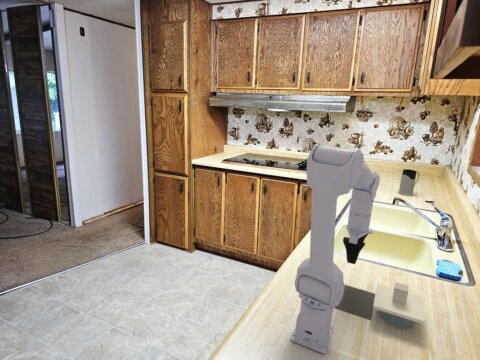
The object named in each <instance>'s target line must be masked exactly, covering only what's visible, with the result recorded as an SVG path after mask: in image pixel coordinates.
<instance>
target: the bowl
mask: <svg viewBox="0 0 480 360" xmlns="http://www.w3.org/2000/svg"><path fill="white" fill-rule="evenodd" d="M379 316H380V317H381V319H383V320H384V321H385V323H387V324H388V325H391V326H394V327H396V328H399V329H401V330H402V329H409V328H413V326H414V323H415V321H412V320H408V319H405V318H402V317H399V316H396V315H393V314H389V313H386V312H383V311H380V314H379Z"/></svg>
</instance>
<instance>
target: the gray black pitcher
mask: <svg viewBox="0 0 480 360" xmlns="http://www.w3.org/2000/svg"><path fill="white" fill-rule="evenodd" d="M400 177H401V178H400V183H399V188H398V189H399V190H398V191H397V194H398V195H401V196H406V197H414V189H415V186H416V184H417V183H418V181H419V179H420V172H419V171H417V170H415V169H409V168H408V169H407V168H405V169H403V170H402V174H401V176H400ZM416 177H417V179H416Z"/></svg>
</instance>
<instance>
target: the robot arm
mask: <svg viewBox="0 0 480 360" xmlns="http://www.w3.org/2000/svg"><path fill="white" fill-rule="evenodd" d="M380 179H381V177H380V174H378V173H377V171H372V170H371V168H370V167H369V166H368V164H367V163H366V161H365V158H364V152H363V151H362V149H360V148H355V149H354V148H346V147H339V146H332V145H325V144H321V143H316V144H315V145H314V146H312V148H311V150H310V152H309V154H308V156H307V159H306V185H307V186H308V187H309V188H310V189H311V208H310V209H311V210H310V211H311V213H310V237H309V238H310V241H309V243H310V246H309V257H308V258H306V259H304V260H303V261H301V262H300V264H299V265H298V266H297V271H296V276H295V278H294V279H295V280H294V287H295V288H294V289H295V291H296V292H297V293H298V298H300V299H301V301H300V308H299V313H298V314H297V317H296V321H295V328H294V330H293V332H292V334H291V335H290V339H289V341H291V342H294V343H296V344H298V345H301V346H304V348H305V347H306V348H308V349H311V350H313V351H314V352H315V351H316V352H317V353H318V352H319V353H320V354H326V353H327V349H328V347H329V344H330V341H331V339H332V336H333V333H334V330H335V326H333V325H332V319H333V312H334V309H335V308H334V307H336V306H338V305H339V303H340V301H341V299H342V297H343V293H344V287H345V285H346V284H345V282H344V272H343V271H342V270H341V269H340V268H339V266H338V265H336V263H335V262H334V252H335V235H336V218H337V203H338V198H339V197H340V196H343V195H347V194H349V193H350V192H351V197H350V203H349V212H348V218H347V225H346V227H345V228H346V230H347V233H348V235H349V236H348V237H347V236H343V238H342V244H343V245H344V248H345V251H346V253H345V254H346V262H347V263H348V264H351V265H356V263H357V260H358V257H359V254H360V253H361V251H362V249H363V248H364V247H365V246H366V242H365V239H366V238H367V237H368V235H373V234H374V229H373V228H372V229H371V228H370V226H371V220H372V219H371V218H372V211H373V205H374V200H375V199H376V196H377V192H378V188H379V185H380V181H381V180H380Z"/></svg>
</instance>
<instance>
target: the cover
mask: <svg viewBox="0 0 480 360" xmlns="http://www.w3.org/2000/svg"><path fill="white" fill-rule="evenodd" d="M424 306H425V305H424V296H422V295H419V294H415V293H412V292H409V285H408V284H407V285H406V284H404V283H399V282H396V281H395V283H394V288H393V287H391V286H387V285H383V284H379V283H377V284H376V290H375V299H374V304H373V309H374V310H376V311H380V312H381V311H383V312H386V313H389V314H393V315H396V316H399V317H402V318H405V319H408V320H412V321H414V323H418V324H422V325H425V322H426V320H425V307H424Z"/></svg>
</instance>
